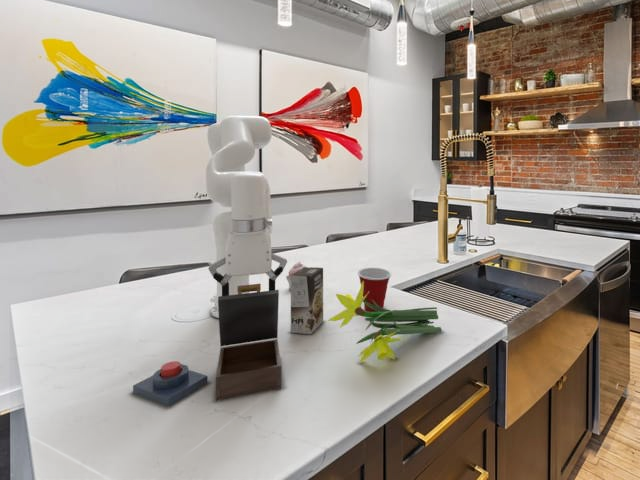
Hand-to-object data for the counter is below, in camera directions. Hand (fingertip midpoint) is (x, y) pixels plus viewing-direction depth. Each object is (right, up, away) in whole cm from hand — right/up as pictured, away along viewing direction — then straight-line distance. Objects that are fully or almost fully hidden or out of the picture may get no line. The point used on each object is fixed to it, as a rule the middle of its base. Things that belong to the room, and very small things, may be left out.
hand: (249, 298), depth 96 cm
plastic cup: (+27, -15, +34) cm, 46 cm away
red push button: (-13, -12, -10) cm, 21 cm away
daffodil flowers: (+34, -16, +8) cm, 38 cm away
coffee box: (+9, -16, +21) cm, 27 cm away
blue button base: (-13, -16, -10) cm, 23 cm away
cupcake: (-2, -15, +54) cm, 56 cm away
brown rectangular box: (+2, -16, -6) cm, 17 cm away
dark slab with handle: (+1, -4, -3) cm, 5 cm away
